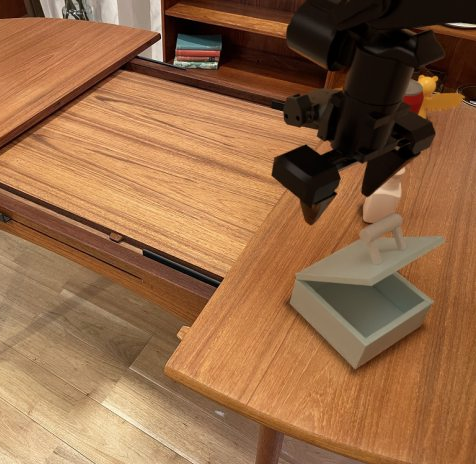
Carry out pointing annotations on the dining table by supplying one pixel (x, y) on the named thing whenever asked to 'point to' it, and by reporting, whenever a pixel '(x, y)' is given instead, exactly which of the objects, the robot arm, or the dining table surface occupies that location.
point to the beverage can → (414, 96)
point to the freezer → (361, 314)
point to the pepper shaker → (383, 199)
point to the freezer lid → (371, 255)
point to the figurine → (436, 97)
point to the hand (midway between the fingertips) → (337, 208)
